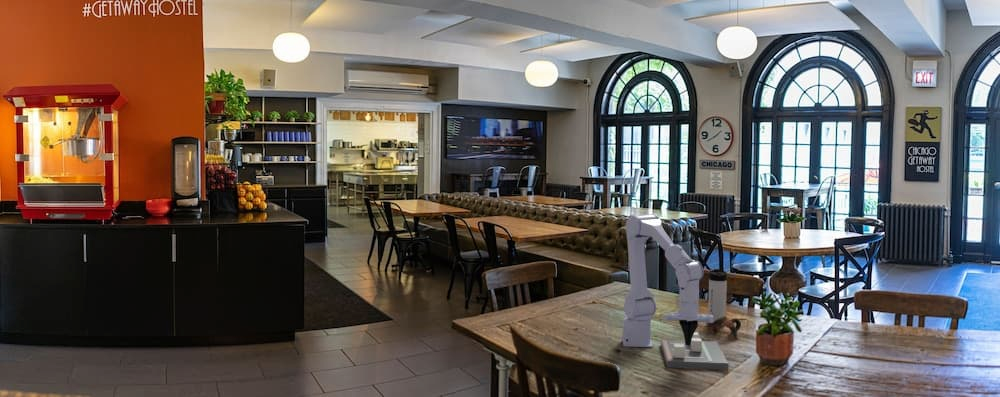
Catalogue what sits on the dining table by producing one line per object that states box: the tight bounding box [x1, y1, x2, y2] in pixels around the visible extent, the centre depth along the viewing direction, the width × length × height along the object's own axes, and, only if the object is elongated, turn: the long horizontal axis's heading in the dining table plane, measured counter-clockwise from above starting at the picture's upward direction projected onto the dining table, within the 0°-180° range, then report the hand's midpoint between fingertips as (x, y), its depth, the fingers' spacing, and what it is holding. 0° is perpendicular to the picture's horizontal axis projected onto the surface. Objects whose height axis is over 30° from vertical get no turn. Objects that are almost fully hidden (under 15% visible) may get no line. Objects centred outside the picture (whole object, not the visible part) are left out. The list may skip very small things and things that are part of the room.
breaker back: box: [690, 331, 700, 345], centre depth 230 cm, size 3×3×3 cm
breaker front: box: [674, 344, 685, 358], centre depth 217 cm, size 3×3×3 cm
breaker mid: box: [691, 337, 703, 352], centre depth 223 cm, size 3×3×3 cm
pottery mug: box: [706, 315, 742, 342], centre depth 246 cm, size 12×10×8 cm
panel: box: [660, 339, 729, 371], centre depth 224 cm, size 18×22×2 cm
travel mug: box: [707, 268, 728, 327], centre depth 262 cm, size 6×7×20 cm
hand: (687, 344), depth 217 cm, fingers closed
